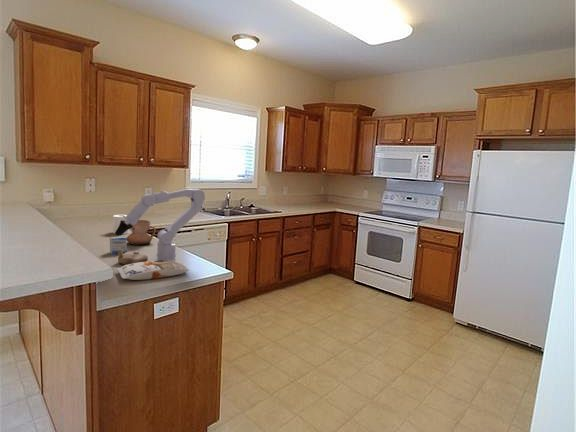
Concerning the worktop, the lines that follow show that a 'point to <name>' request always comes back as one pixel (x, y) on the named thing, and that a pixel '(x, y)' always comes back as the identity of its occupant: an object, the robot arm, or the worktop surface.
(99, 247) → the worktop surface
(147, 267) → the dog food
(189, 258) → the worktop surface
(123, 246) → the medicine box
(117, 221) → the toilet paper
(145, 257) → the turntable
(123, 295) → the worktop surface
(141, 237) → the ceramic jug
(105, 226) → the worktop surface
